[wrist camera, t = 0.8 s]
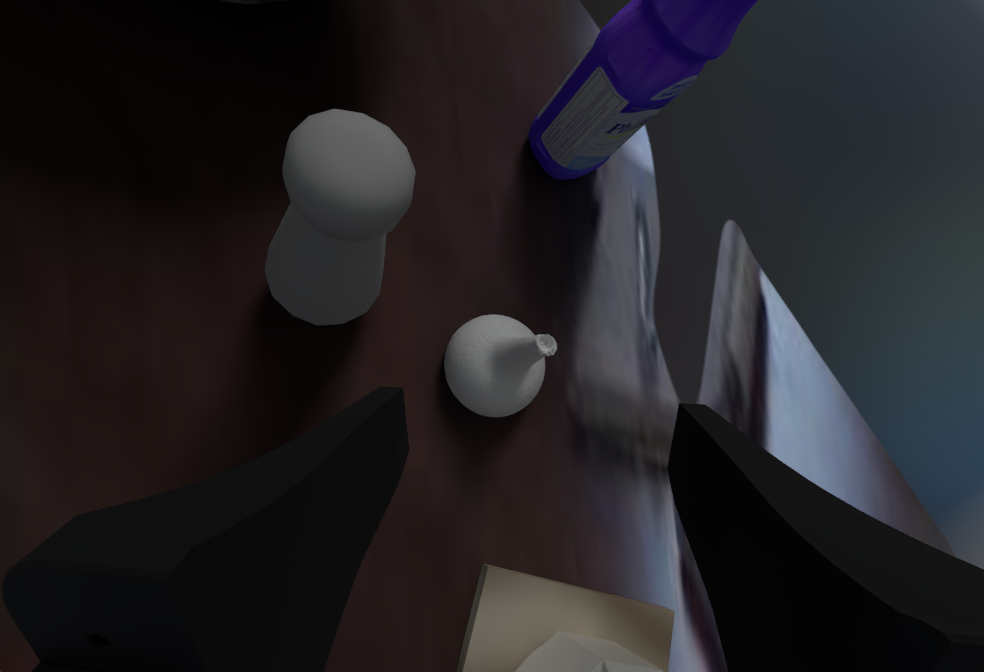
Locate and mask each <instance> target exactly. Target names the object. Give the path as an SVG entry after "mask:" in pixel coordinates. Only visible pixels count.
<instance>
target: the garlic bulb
mask: <svg viewBox="0 0 984 672" xmlns="http://www.w3.org/2000/svg"><path fill="white" fill-rule="evenodd" d="M556 350H557V344H556V342H555V340H554V338H553V337H552V336H550V335H549V334H546V335H540V334H538V335H536V336H535V335H534V334H533V333H532V332H531V331H530V329H528V328H527V327H526V326H525V325H524V324H522V323H521V322H519V321H517V320H515V319H513V318H510V317H507V316H503V315H484V316H480V317H477V318H475V319H473V320H471V321H469V322H467V323H466V324H464V325H463V326H462V327H460V328H459V329H458V330H457V331H456V333H455V334H454V335H453V336H452V338H451V340H450V342H449V344H448V346H447V349H446V353H445V360H444V369H445V375H446V379H447V383H448V385H449V387H450V389H451V391H452V393H453V394H454V395H455V397H456V398H457V399H458V400H459V401H460V402H461V403H462V404H463V405H464V406H465V407H467V408H468V409H470V410H471V411H473V412H475V413H477V414H479V415H482V416H487V417H504V416H508V415H512V414H514V413H516V412H518V411H520V410H521V409H523V408H524V407H526V406H527V405H528V404H529V403H530V402H531V401H532V400H533V399H534V397H535V396H536V395H537V393H538V391H539V390H540V387H541V385H542V382H543V379H544V374H545V358H544V357H545V356H546V355H547V356H548V355H549V354H551V355H554V353H555V351H556ZM552 352H553V353H552ZM549 356H550V355H549Z"/></svg>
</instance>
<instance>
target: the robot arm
mask: <svg viewBox="0 0 984 672" xmlns="http://www.w3.org/2000/svg"><path fill="white" fill-rule="evenodd" d="M408 452H409V444H408V434H407V424H406V414H405V404H404V395H403V388H394V387H380V388H378V389H376V390H374V391H373V392H371V393H369V394H368V395H366V396H365V397H363V398H361V399H360V400H358V401H357V402H355V403H354V404H352V405H351V406H349V407H347V408H346V409H344V410H343V411H341V412H339V413H338V414H336V415H335V416H333V417H332V418H330V419H328V420H327V421H325V422H323V423H322V424H320V425H318V426H317V427H315V428H313V429H311V430H310V431H308V432H306V433H304V434H303V435H301V436H299V437H297V438H296V439H294V440H292V441H290V442H288V443H287V444H285V445H283V446H281V447H279V448H277V449H275V450H273V451H270V452H268V453H266V454H264V455H262V456H260V457H258V458H256V459H253V460H251V461H249V462H247V463H244V464H242V465H239V466H236V467H234V468H231V469H229V470H226V471H224V472H221V473H219V474H216V475H214V476H211V477H209V478H206V479H203V480H200V481H197V482H195V483H192V484H189V485H186V486H183V487H180V488H177V489H173V490H170V491H167V492H164V493H160V494H157V495H154V496H150V497H147V498H143V499H140V500H136V501H132V502H128V503H124V504H120V505H116V506H112V507H108V508H104V509H100V510H96V511H92V512H88V513H83V514H79V515H77V516H75V517H74V518H72V519H71V520H70V521H69V522H67V523H66V524H65V525H64V526H62V527H61V528H60V529H59V530H57V531H56V532H55V533H54V534H53V535H51V536H50V537H49V538H48V539H46V540H45V541H44V542H43V543H41V544H40V545H39V546H38V547H37V548H35V549H34V550H33V551H32V552H30V553H29V554H28V555H27V556H25V557H24V558H23V559H22V560H20V561H19V562H18V563H17V564H15V565H14V566H13V567H12V568H11V569H9V570H8V571H7V572H6V575H5V577H4V580H3V583H2V593H3V601H4V603H5V605H6V607H7V609H8V611H9V613H10V615H11V617H12V618H13V620H14V621H15V623H16V625H17V626H18V628H19V629H20V631H21V632H22V634H23V635H24V637H25V638H26V640H27V641H28V643H29V645H30V646H31V648H32V649H33V651H34V652H35V654H36V655H37V657H38V658H39V660H40V661H41V662H40V663H39V664H38V665H37V666H36V667H35V668H34V669H33V670H32V671H31V672H324V669H325V665H326V662H327V659H328V656H329V653H330V650H331V647H332V644H333V641H334V638H335V635H336V632H337V629H338V626H339V623H340V620H341V617H342V614H343V611H344V608H345V605H346V602H347V599H348V597H349V594H350V591H351V588H352V585H353V583H354V580H355V577H356V574H357V572H358V569H359V567H360V565H361V562H362V560H363V557H364V555H365V553H366V551H367V549H368V547H369V545H370V543H371V540H372V538H373V536H374V534H375V532H376V530H377V528H378V526H379V524H380V522H381V520H382V517H383V515H384V513H385V511H386V509H387V507H388V505H389V503H390V501H391V498H392V496H393V494H394V492H395V490H396V488H397V485H398V483H399V481H400V478H401V475H402V472H403V469H404V465H405V462H406V459H407V455H408ZM667 469H668V474H669V479H670V484H671V488H672V493H673V497H674V501H675V505H676V508H677V511H678V514H679V517H680V519H681V522H682V525H683V528H684V531H685V533H686V536H687V539H688V541H689V544H690V547H691V550H692V552H693V555H694V558H695V560H696V563H697V566H698V568H699V571H700V574H701V577H702V579H703V582H704V585H705V587H706V590H707V593H708V597H709V600H710V603H711V606H712V609H713V613H714V617H715V621H716V624H717V628H718V632H719V636H720V640H721V644H722V648H723V652H724V656H725V660H726V664H727V668H728V672H984V570H983V569H981V568H979V567H977V566H974V565H972V564H970V563H967V562H965V561H963V560H960V559H958V558H956V557H953V556H951V555H949V554H947V553H944V552H942V551H940V550H938V549H936V548H934V547H931V546H929V545H927V544H925V543H923V542H921V541H918V540H916V539H914V538H912V537H910V536H908V535H906V534H904V533H902V532H900V531H898V530H896V529H894V528H892V527H890V526H888V525H886V524H884V523H882V522H880V521H878V520H877V519H875V518H873V517H871V516H869V515H867V514H865V513H864V512H862V511H860V510H858V509H856V508H854V507H853V506H851V505H849V504H848V503H846V502H844V501H842V500H841V499H839V498H837V497H836V496H834V495H832V494H830V493H829V492H827V491H825V490H824V489H822V488H821V487H819V486H817V485H816V484H814V483H812V482H811V481H809V480H808V479H806V478H805V477H803V476H802V475H800V474H799V473H797V472H796V471H794V470H793V469H791V468H790V467H789V466H787V465H786V464H784V463H783V462H781V461H780V460H778V459H777V458H776V457H774V456H773V455H771V454H770V453H769V452H767V451H766V450H765V449H763V448H762V447H761V446H759V445H758V444H757V443H755V442H754V441H753V440H751V439H750V438H749V437H747V436H746V435H745V434H743V433H742V432H741V431H739V430H738V429H737V428H736V427H734V426H733V425H732V424H730V423H729V422H728V421H727V420H725V419H724V418H723V417H721V416H720V415H719V414H717V413H716V412H715V411H713V410H712V409H710V408H709V407H707V406H706V405H702V404H683V403H679V407H678V413H677V418H676V424H675V429H674V435H673V440H672V446H671V451H670V457H669V462H668V468H667ZM0 672H2V671H0Z"/></svg>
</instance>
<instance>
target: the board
mask: <svg viewBox="0 0 984 672" xmlns="http://www.w3.org/2000/svg"><path fill="white" fill-rule="evenodd" d="M673 620H674V611H673V610H670V609H668V608H666V607H662V606H657V605H653V604H649V603H645V602H641V601H637V600H633V599H628V598H624V597H620V596H616V595H612V594H608V593H604V592H599V591H595V590H591V589H587V588H583V587H579V586H575V585H570V584H566V583H562V582H558V581H554V580H550V579H546V578H541V577H537V576H533V575H529V574H525V573H521V572H517V571H512V570H508V569H504V568H500V567H496V566H492V565H488V564H484V563H483V564H482V568H481V572H480V576H479V580H478V584H477V588H476V592H475V596H474V600H473V604H472V609H471V613H470V617H469V621H468V625H467V629H466V633H465V637H464V641H463V645H462V649H461V653H460V657H459V661H458V665H457V669H456V672H513V671H514V670H515V669H516V667H517V666H518V665H519V663H520V662H521V661H522V660H523V659H524V658H525V657H526V656H527V655H528V654H529V653H530V652H531V651H532V650H533V649H535V648H536V647H537V646H538V645H540V644H542V643H543V642H545V641H547V640H549V639H550V638H552V637H553V636H554V635H555V634H556V633H557V632H558V631H563V632H568V633H573V634H578V635H583V636H588V637H593V638H598V639H603V640H608V641H613V642H615V643H616V644H618V645H620V646H622V647H623V648H625V649H627V650H628V651H630V652H632V653H634V654H635V655H637V656H639V657H640V658H642V659H644V660H645V661H647V662H649V663H651V664H652V665H654V666H656V667H657V668H659V669H661V670H663V672H668V666H669V657H670V647H671V638H672V629H673Z"/></svg>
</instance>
